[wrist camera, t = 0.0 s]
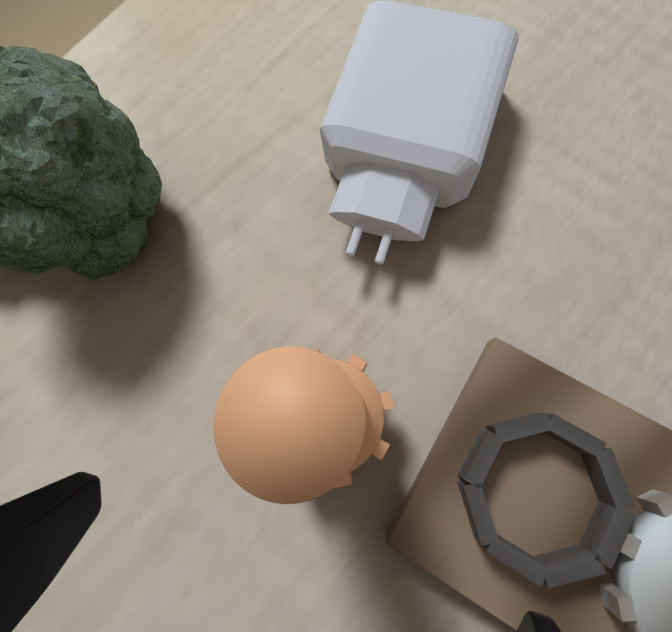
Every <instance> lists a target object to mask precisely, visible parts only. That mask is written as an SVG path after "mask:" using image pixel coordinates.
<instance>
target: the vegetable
mask: <svg viewBox="0 0 672 632" xmlns="http://www.w3.org/2000/svg"><path fill="white" fill-rule="evenodd" d="M139 147H140V146H139V138H138V136H137V133H136V131H135V128H134V125H133V124H132V122H131V121H130V119H129V118H128V117H127V116H126V115H125V114H124V113H123V112H122V111H121V110H120V109H118V108H117V107H115V106H114V105H113V104H111V103H110V102H109V101H108V100H104V99H103V98H102V97H101V95H100V94H99V90H98V87H97V84H95V83H94V82H93V81H92V80H91V78H90V77H89V75H88V74H87V73H86V71H85V70H84V69H83V67H82V66H80V65H78V64H76V63H74V62H72V61H69V60H66V59H63V58H60V57H57V56H54V55H52V54H46V53H41V52H39V51H38V50H36V49H34V48H27V47H17V46H11V47H9V48H6V49H5V48H3V47H1V46H0V265H2V266H6V267H9V268H12V269H16V270H19V271H24V272H29V273H35V274H38V273H42V272H46V271H48V270H50V269H52V268H54V267H62V266H69V267H70V269H71V270H72V271H73V272H75V273H79V274H82V275H84V276H86V277H88V278H90V279H91V280H95V279H97V278H99V277H102V276H106V275H111V274H113V273H115V272H117V271H119V270H121V269H123V268H125V267H126V266H128V265H129V264H130V262H131V261H133V260H135V259H136V258H137V256H138V253H139V250H140V249H142V247H143V245H144V244H145V242H146V241H147V238H148V231H147V224H146V221H149V220H151V219H152V218H153V217H154V216H155V215H156V206H157V204H158V203H159V201H160V193H161V186H162V183H161V179H160V176H159V173H158V171H157V169H156V168H155V167H154V165H153V163H152V161H151V159H149V158H148V157H147V156H145V154H144V152H143V150H142V149H141V148H139Z"/></svg>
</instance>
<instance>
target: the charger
mask: <svg viewBox="0 0 672 632" xmlns="http://www.w3.org/2000/svg"><path fill="white" fill-rule="evenodd" d="M517 42H518V33H517V32H516V30H515V29H513V28H512V27H511V26H509V25H507V24H505V23H502V22H499V21H495V20H491V19H486V18H480V17H475V16H470V15H464V14H459V13H454V12H448V11H443V10H437V9H432V8H427V7H421V6H416V5H411V4H405V3H400V2H394V1H376V2H373V3H371V4H369V5H368V6H367V8H366V11H365V14H364V16H363V19H362V21H361V24H360V27H359V29H358V32H357V34H356V37H355V40H354V42H353V45H352V47H351V50H350V53H349V55H348V58H347V60H346V63H345V66H344V68H343V71H342V73H341V76H340V79H339V81H338V84H337V86H336V89H335V92H334V94H333V97H332V99H331V102H330V105H329V107H328V110H327V112H326V115H325V118H324V120H323V123H322V126H321V128H320V133H321V139H322V144H323V150H324V155H325V161H326V163H327V164H328V166H329V168H330V170H331V171H332V173H333V175H334V176H335V178H336V179H337V180H339V181H340V183H339V186H338V189H337V192H336V194H335V197H334V200H333V203H332V206H331V208H330V211H329V214H330V215H331V216H332V217H333V218H335V219H336V220H338V221H340V222H342V223H344V224H346V225H348V226H350V227H352V228H354V230H353V233H352V236H351V239H350V242H349V244H348V247H347V250H346V254H347V255H348V256H354V255H355V252H356V249H357V247H358V244H359V241H360V238H361V235H362V232H366V233H370V234H374V235H377V236H381V237H382V240H381V243H380V246H379V249H378V252H377V255H376V258H375V262H376V263H377V264H379V265H381V264H384V261H385V258H386V255H387V252H388V249H389V246H390V243H391V240H403V241H420V240H424V238H425V235H426V232H427V228H428V225H429V222H430V219H431V215H432V212H433V209H434V206H435V207H441V208H446V207H449V206H451V205H453V204H455V203H457V202H460V201H462V200H464V199H466V198H467V197H468V195H469V193H470V191H471V189H472V186H473V184H474V182H475V180H476V178H477V175H478V173H479V171H480V169H481V166H482V162H483V159H484V155H485V152H486V148H487V145H488V142H489V138H490V135H491V131H492V128H493V124H494V121H495V117H496V114H497V111H498V107H499V104H500V100H501V97H502V93H503V90H504V87H505V83H506V80H507V76H508V73H509V69H510V66H511V63H512V59H513V56H514V52H515V49H516V45H517Z"/></svg>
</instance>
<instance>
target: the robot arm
mask: <svg viewBox="0 0 672 632" xmlns="http://www.w3.org/2000/svg"><path fill="white" fill-rule="evenodd" d="M100 509H101V486H100V479H99V478H98V476H95V475H92V474H89V473H86V472H78V473H75V474H73V475H70V476H68V477H66V478H63V479H61V480H59V481H56V482H54V483H52V484H49V485H47V486H45V487H42V488H40V489H38V490H35V491H33V492H31V493H28V494H26V495H24V496H21V497H19V498H17V499H14V500H12V501H10V502H7V503H5V504H3V505H0V632H12V631H13V629H14V628H15V627H16V626H17V624H18V623H19V622H20V621H21V620H22V618H23V617H24V616H25V615H26V614H27V612H28V611H29V610H30V609H31V607H32V606H33V605H34V604H35V603H36V601H37V600H38V599H39V598H40V596H41V595H42V594H43V593H44V591H45V590H46V589H47V587H48V586H49V585H50V583H51V582H52V581H53V579H54V578H55V577H56V575H57V574H58V572H59V571H60V569H61V568H62V566H63V565H64V564H65V562H66V561H67V559H68V558H69V556H70V555H71V553H72V552H73V551H74V549H75V548H76V546H77V545H78V543H79V542H80V540H81V539H82V537H83V536H84V535H85V533H86V532H87V530H88V529H89V527H90V526H91V524H92V523H93V522H94V520H95V519H96V517H97V516H98V514H99V512H100ZM516 632H562V631H561V630H560V628H559V627H558V625H557V624H556V622H555V621H554V620H553V619H552V618H551V617H549V616H547V615H544V614H541V613H538V612H534V611H528V612H526V614H525V615H524V617H523V619H522V621H521V623H520V625H519V627H518V629H517V631H516Z"/></svg>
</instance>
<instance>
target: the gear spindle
mask: <svg viewBox="0 0 672 632" xmlns="http://www.w3.org/2000/svg"><path fill="white" fill-rule="evenodd" d="M366 366H367V362H366V361H364V360H363V359H361V358H359V357H357V356H356V355H354V354H353V355H352V357H351V358H350V360H349V362H348V363H346V362H343V361H339V360H333V359H330V358H329V357H327V356H325V355H323V354H322V353H321V352H320V351H319V350H311V349H307V348H302V347H280V348H275V349H271V350H268V351H265V352H262V353H260V354H258V355H256V356H254V357H252V358H251V359H249V360H248V361H246V362H245V363H244V364H243V365H242V366H240V367H239V368H238V369H237V370H236V371H235V373H234V374H233V375H232V376H231V377H230V379H229V380H228V382H227V383H226V385H225V387H224V388H223V390H222V392H221V395H220V397H219V400H218V403H217V407H216V410H215V417H214V437H215V443H216V448H217V452H218V454H219V457H220V459H221V462H222V463H223V465H224V467H225V469H226V471H227V472H228V473H229V475H230V476H231V477H232V479H233V480H234V481H235V482H236V483H237V484H238V485H239V486H240V487H242V488H243V489H244V490H246V491H247V492H249V493H250V494H252V495H254V496H255V497H258V498H260V499H263V500H265V501H269V502H273V503H280V504H296V503H301V502H306V501H309V500H312V499H315V498H317V497H319V496H321V495H323V494H325V493H326V492H328V491H329V490H331V489H332V488H334V487H335V489H336V488H339V487H343V486H347V485H351V484H352V480H353V478H352V474H351V471H353V470H355V469H356V468H358V467H359V466H361V465H362V464H363V463H364V462H365V461H367V459H368V458H369V457H370V456H371V455H373V456H375V457H376V458H378V459H380V460H381V461H382V459H383V457H384V455H385V453H386V452H387V450H388V448H389V446H390V445H389V443H388V442H386V441H384V440H383V439H381V435H382V431H383V425H384V412H383V410H386V409H390V408H393V407H394V406H393V402H392V398H391V395H390V391H388V392H384V393H380V394H379V393H378V391H377V389H376V387H375V386H374V384H373V383H372V381H371V380H370V379H369V378H368V377H367V376H366V375H365V374H364V373H363V372H364V370H365V368H366Z"/></svg>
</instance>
